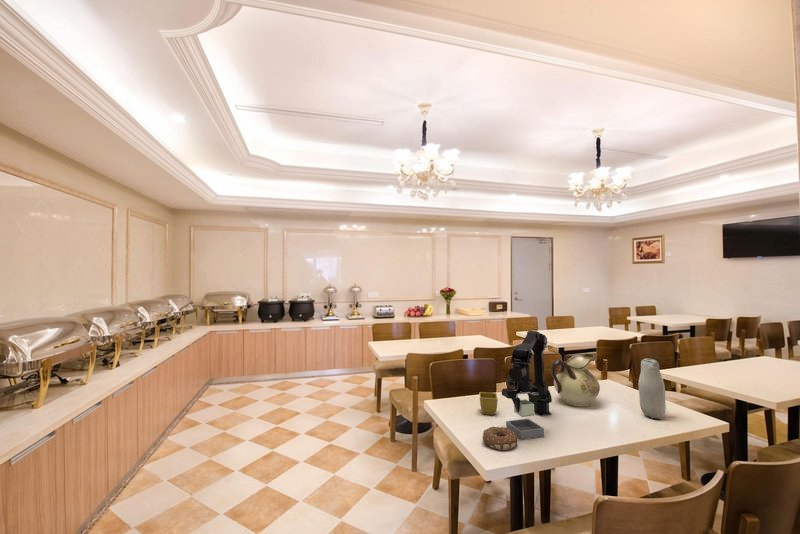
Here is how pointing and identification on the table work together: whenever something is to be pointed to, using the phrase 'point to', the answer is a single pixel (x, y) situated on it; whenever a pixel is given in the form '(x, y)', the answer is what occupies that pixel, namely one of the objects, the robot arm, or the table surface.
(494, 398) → the flower pot
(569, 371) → the pitcher
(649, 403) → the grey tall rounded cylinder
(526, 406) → the small crate
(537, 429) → the big crate
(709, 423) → the table surface
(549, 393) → the robot arm
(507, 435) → the donut
